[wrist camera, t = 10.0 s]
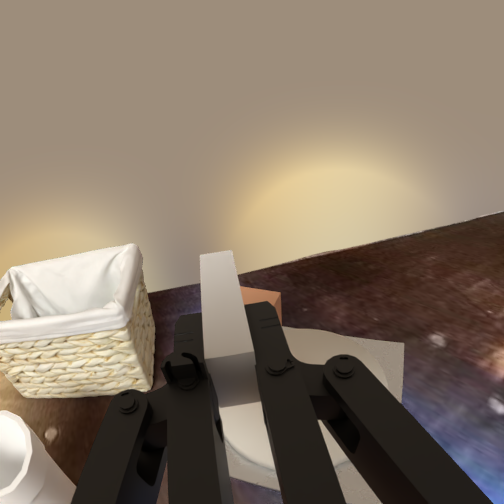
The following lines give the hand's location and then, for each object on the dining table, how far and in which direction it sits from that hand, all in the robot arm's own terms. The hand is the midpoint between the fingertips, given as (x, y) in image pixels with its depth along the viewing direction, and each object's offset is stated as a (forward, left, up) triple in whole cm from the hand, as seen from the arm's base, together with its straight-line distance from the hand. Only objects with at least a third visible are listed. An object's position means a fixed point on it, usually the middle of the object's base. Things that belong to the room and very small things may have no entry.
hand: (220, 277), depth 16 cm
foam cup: (+16, +14, -24) cm, 33 cm away
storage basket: (+29, -6, -25) cm, 39 cm away
